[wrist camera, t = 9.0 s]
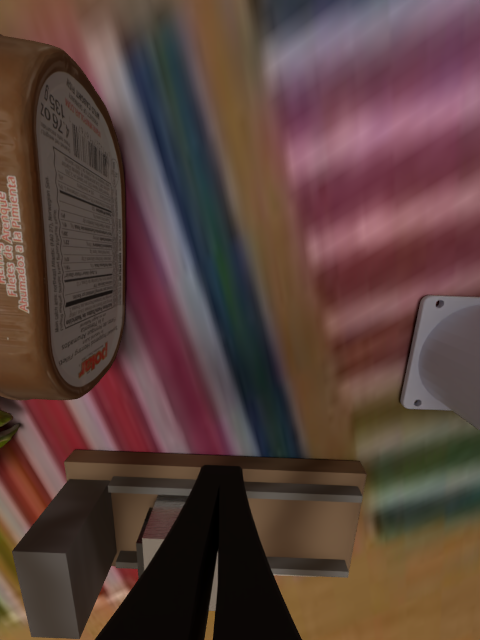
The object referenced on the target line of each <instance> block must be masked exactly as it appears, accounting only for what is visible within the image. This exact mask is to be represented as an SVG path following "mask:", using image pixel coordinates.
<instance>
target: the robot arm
mask: <svg viewBox="0 0 480 640" xmlns="http://www.w3.org/2000/svg"><path fill="white" fill-rule="evenodd" d="M438 300H439V305H438V306H437V307H436V302H437V301H438ZM416 400H418V401H417V402H416V403H414V402H415V401H416ZM400 402H401V404H402V405H403V406H404V407H405V408H408V409H428V410H452V411H454V412H455V413H456V414H458V415H459V416H461V417H462V418H463V419H465V420H466V421H468V422H469V423H470V424H472V425H473V426H474V427H476V428H477V429H479V430H480V297H467V296H441V295H427V296H425V297H423V298H422V300H421V302H420V306H419V311H418V316H417V321H416V326H415V331H414V336H413V341H412V345H411V350H410V355H409V360H408V365H407V370H406V375H405V380H404V385H403V390H402V394H401V399H400ZM217 553H218V587H217V599H216V610H215V622H214V633H213V640H302V639H301V637H300V635H299V633H298V630H297V628H296V626H295V624H294V622H293V620H292V617H291V615H290V613H289V611H288V608H287V606H286V604H285V602H284V599H283V597H282V595H281V592H280V590H279V588H278V585H277V583H276V580H275V578H274V575H273V573H272V570H271V568H270V565H269V562H268V560H267V557H266V554H265V552H264V549H263V546H262V544H261V541H260V538H259V535H258V532H257V529H256V525H255V522H254V519H253V516H252V513H251V509H250V506H249V502H248V498H247V494H246V490H245V485H244V479H243V469H242V468H241V467H240V466H223V465H204V466H202V467H201V469H200V472H199V475H198V477H197V479H196V482H195V484H194V486H193V488H192V490H191V492H190V494H189V496H188V498H187V500H186V502H185V504H184V506H183V508H182V509H181V511H180V513H179V515H178V517H177V518H176V520H175V522H174V524H173V526H172V527H171V529H170V531H169V532H168V534H167V536H166V537H165V539H164V541H163V542H162V544H161V545H160V547H159V549H158V550H157V552H156V553H155V555H154V557H153V558H152V560H151V561H150V563H149V564H148V566H147V567H146V569H145V571H144V572H143V574H142V575H141V576H140V578H139V579H138V581H137V582H136V584H135V585H134V587H133V588H132V590H131V591H130V592H129V594H128V595H127V597H126V598H125V599H124V601H123V602H122V604H121V605H120V606H119V608H118V609H117V611H116V612H115V613H114V615H113V616H112V617H111V619H110V620H109V621H108V623H107V624H106V625H105V627H104V628H103V629H102V631H101V632H100V633H99V635H98V636H97V637H96V639H95V640H204V638H205V631H206V625H207V618H208V612H209V605H210V599H211V592H212V586H213V579H214V573H215V566H216V559H217Z"/></svg>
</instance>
